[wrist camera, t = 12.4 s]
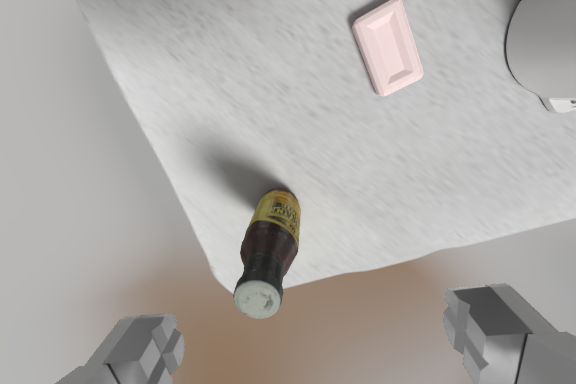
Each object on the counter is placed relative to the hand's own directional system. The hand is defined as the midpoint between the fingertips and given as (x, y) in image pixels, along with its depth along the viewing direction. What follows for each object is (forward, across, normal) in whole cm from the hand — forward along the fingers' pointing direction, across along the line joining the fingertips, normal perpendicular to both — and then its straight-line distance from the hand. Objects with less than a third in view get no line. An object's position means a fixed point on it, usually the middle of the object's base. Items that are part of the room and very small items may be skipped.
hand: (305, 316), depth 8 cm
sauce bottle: (+31, +5, +10) cm, 33 cm away
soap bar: (+32, -11, -8) cm, 35 cm away
